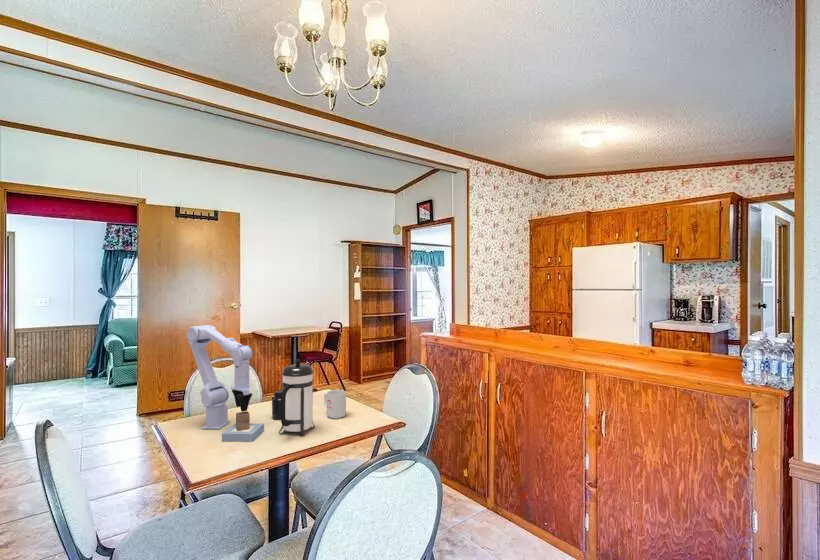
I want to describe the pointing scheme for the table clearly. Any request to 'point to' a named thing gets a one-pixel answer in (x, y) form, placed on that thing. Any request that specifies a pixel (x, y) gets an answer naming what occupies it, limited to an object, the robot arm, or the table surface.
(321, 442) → the table surface
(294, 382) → the coffee press
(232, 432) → the slate plinth
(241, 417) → the walnut block
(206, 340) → the robot arm
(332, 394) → the mug
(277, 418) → the supplement bottle
